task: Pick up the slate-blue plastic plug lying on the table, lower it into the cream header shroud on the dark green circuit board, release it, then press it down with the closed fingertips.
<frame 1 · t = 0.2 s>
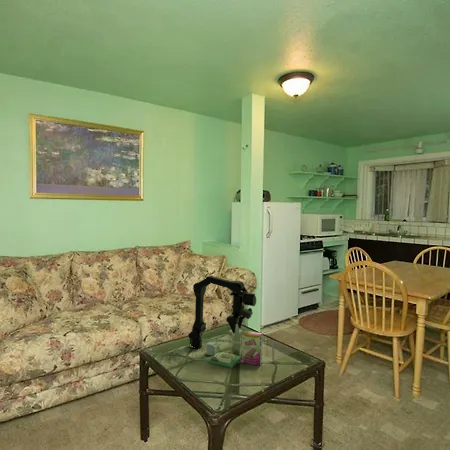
hand: (236, 330, 182), 14 cm above the table, fingers open, 9 cm apart
candy bar box: (251, 363, 172), on the table
plug: (210, 353, 183), on the table
board: (224, 360, 174), on the table
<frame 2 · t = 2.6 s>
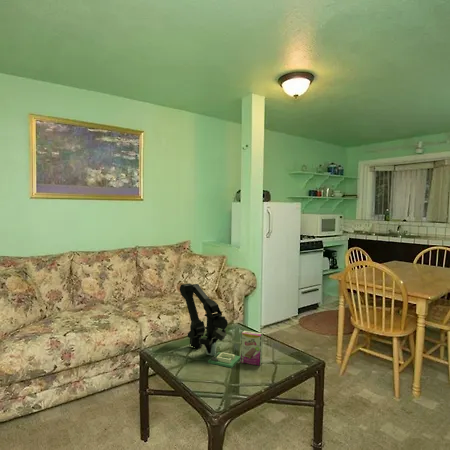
hand: (210, 352, 183), 1 cm above the table, fingers closed on plug, 4 cm apart
plug: (210, 353, 183), on the table, touching gripper
everything else where it was.
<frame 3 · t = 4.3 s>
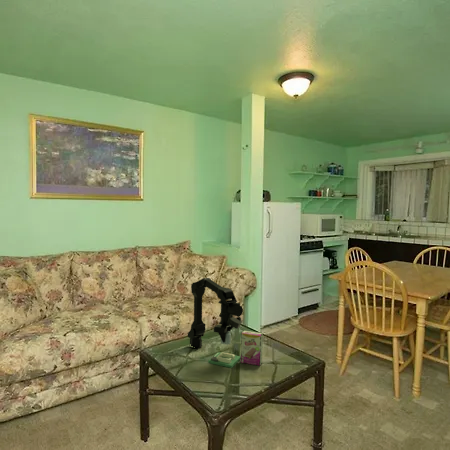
hand: (225, 341, 173), 11 cm above the table, fingers closed on plug, 4 cm apart
plug: (225, 342, 173), point 10 cm above the table, touching gripper
everything else where it was.
when the fingers open (4 cm above the table, at t = 5.9 s): plug drops 1 cm, resting on board.
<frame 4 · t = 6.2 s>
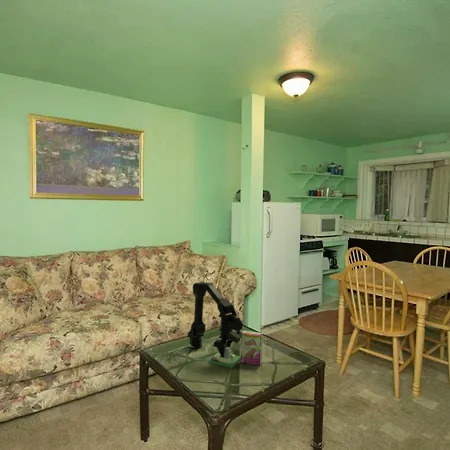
hand: (225, 355, 173), 4 cm above the table, fingers open, 7 cm apart
plug: (225, 359, 173), point 1 cm above the table, touching board
everything else where it was.
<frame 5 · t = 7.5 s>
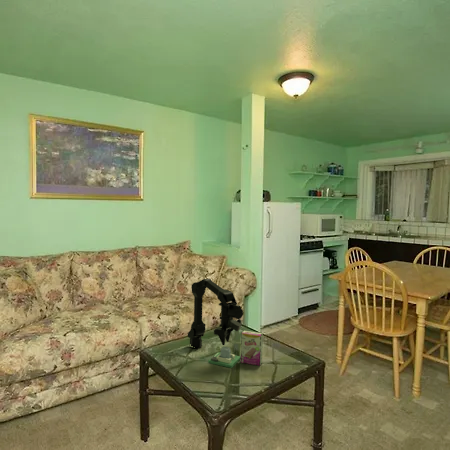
hand: (225, 343, 173), 10 cm above the table, fingers open, 5 cm apart
nothing on the table moved.
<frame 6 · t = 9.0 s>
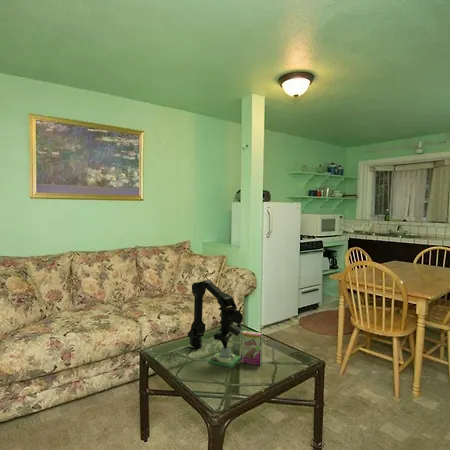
hand: (225, 347, 173), 7 cm above the table, fingers closed
nothing on the table moved.
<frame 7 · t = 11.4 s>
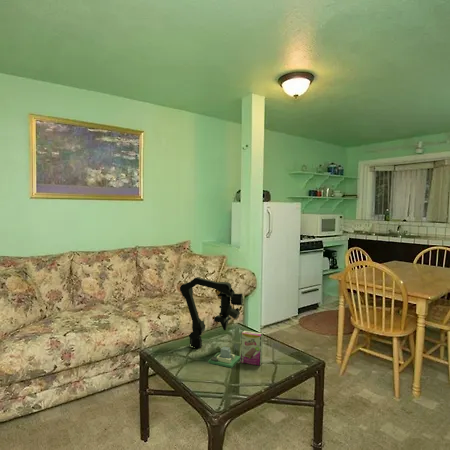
hand: (224, 330, 188), 12 cm above the table, fingers closed
nothing on the table moved.
at the end: plug 0.1 cm from the target spot, point 1.3 cm above the table; plug tilted 0°; the gripper is holding nothing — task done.
